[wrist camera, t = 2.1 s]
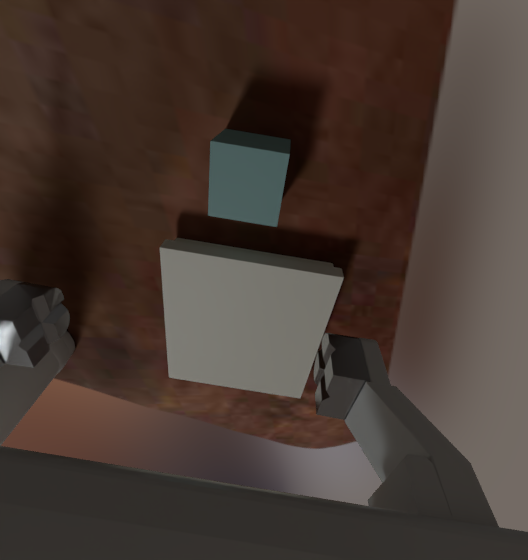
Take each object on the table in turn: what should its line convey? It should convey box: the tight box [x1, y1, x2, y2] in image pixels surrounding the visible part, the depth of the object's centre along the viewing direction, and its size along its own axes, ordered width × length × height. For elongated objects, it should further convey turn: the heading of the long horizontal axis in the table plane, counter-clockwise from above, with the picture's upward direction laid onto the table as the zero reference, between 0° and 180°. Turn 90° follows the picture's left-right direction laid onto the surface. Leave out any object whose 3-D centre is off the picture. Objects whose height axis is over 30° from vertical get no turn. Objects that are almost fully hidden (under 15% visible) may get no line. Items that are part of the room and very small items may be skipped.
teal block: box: [208, 129, 291, 227], centre depth 22 cm, size 5×5×5 cm
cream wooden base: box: [160, 238, 344, 398], centre depth 32 cm, size 18×16×3 cm
